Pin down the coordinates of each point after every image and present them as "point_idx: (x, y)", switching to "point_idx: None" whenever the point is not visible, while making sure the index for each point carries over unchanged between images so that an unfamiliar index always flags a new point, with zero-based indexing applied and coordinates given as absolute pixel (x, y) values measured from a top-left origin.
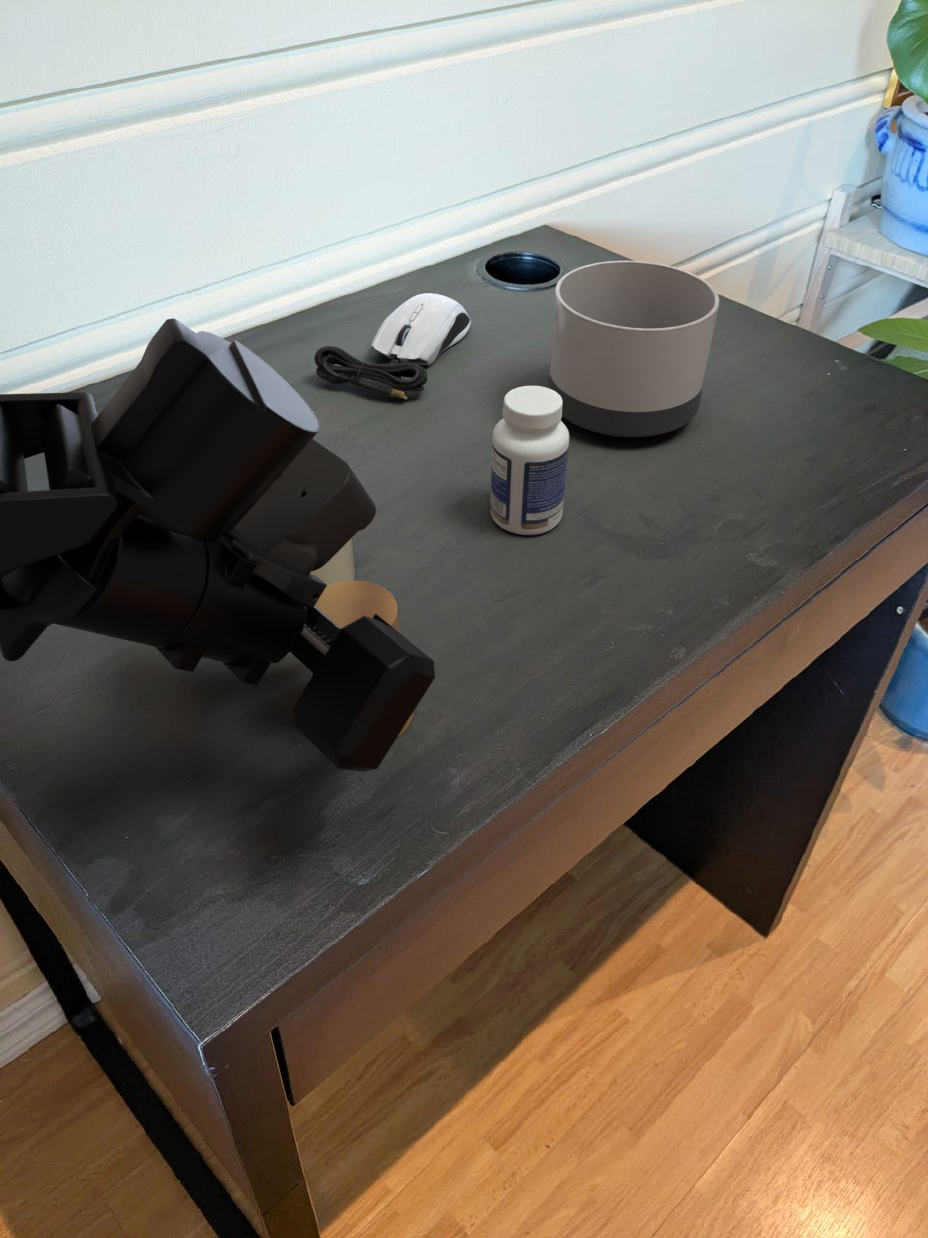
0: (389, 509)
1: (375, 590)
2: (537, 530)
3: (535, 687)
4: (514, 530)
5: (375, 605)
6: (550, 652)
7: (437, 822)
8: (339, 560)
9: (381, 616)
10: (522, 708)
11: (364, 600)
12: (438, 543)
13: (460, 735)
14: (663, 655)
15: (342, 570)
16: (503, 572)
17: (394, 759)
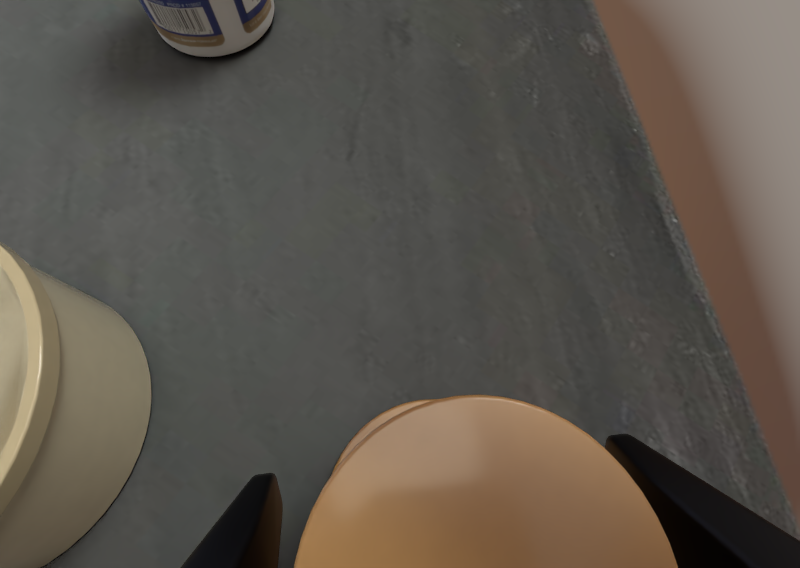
0: (19, 160)
1: (434, 435)
2: (266, 22)
3: (549, 224)
4: (238, 45)
5: (512, 486)
6: (496, 164)
7: None
8: (83, 342)
9: (588, 506)
10: (579, 267)
11: (462, 508)
12: (163, 148)
13: (584, 386)
14: (584, 58)
15: (105, 344)
16: (300, 113)
17: None
